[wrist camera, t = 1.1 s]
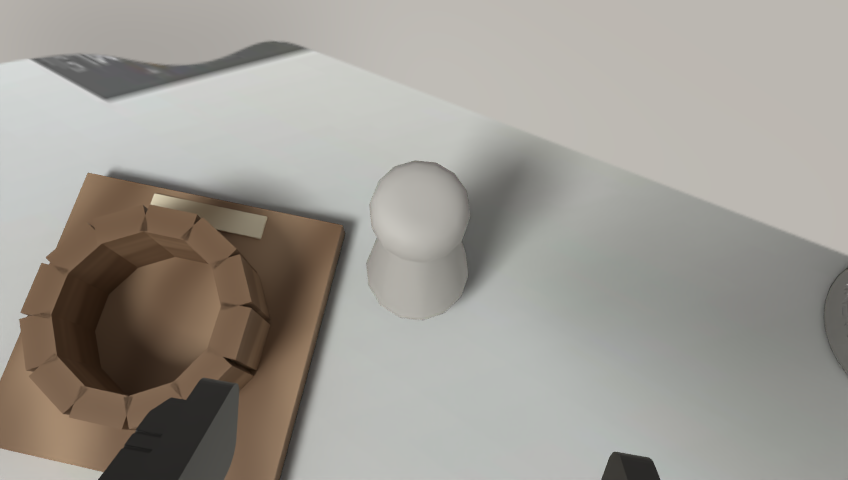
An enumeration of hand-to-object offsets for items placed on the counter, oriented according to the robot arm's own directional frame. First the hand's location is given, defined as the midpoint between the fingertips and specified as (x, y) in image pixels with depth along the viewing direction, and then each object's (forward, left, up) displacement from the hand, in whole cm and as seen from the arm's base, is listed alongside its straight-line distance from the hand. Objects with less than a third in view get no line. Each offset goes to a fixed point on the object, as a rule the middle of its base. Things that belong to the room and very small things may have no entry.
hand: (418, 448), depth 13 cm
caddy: (+15, -4, -23) cm, 27 cm away
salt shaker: (+2, -10, -23) cm, 25 cm away
